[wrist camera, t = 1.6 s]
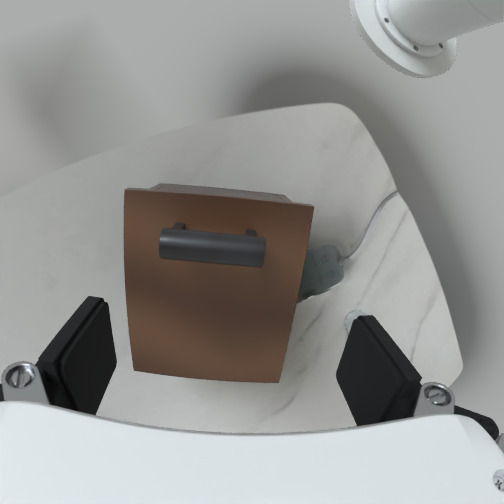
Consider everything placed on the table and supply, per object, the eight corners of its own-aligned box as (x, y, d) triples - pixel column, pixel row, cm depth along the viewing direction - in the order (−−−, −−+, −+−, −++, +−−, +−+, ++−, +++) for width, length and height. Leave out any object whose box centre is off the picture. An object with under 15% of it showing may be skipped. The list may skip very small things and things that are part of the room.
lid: (128, 187, 20) (96, 199, 15) (311, 204, 22) (337, 221, 16) (135, 365, 25) (120, 406, 20) (277, 377, 27) (286, 420, 21)
